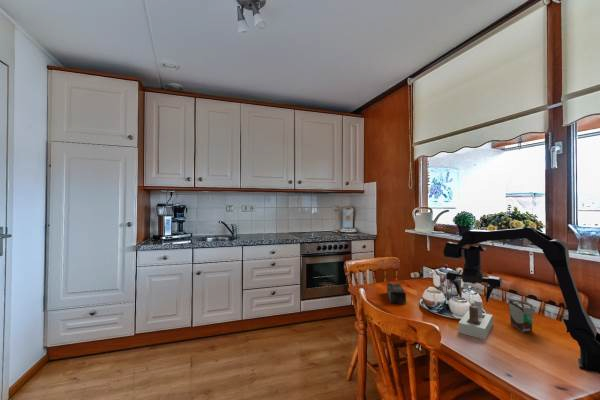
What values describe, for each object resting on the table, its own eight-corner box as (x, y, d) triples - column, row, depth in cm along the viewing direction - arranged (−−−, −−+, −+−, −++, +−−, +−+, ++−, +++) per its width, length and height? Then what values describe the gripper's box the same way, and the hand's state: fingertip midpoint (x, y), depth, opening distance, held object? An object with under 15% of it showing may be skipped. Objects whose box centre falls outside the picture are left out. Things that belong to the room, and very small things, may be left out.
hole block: (485, 339, 107) (485, 328, 107) (458, 332, 113) (458, 322, 113) (492, 324, 120) (492, 315, 120) (468, 318, 126) (468, 310, 126)
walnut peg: (479, 332, 113) (478, 307, 113) (477, 334, 111) (477, 309, 111) (470, 329, 115) (470, 305, 115) (469, 332, 113) (468, 307, 113)
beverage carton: (401, 293, 164) (400, 282, 164) (406, 305, 145) (406, 292, 145) (386, 293, 165) (386, 281, 165) (390, 304, 147) (390, 291, 147)
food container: (543, 335, 109) (542, 309, 109) (525, 334, 110) (524, 308, 111) (524, 322, 121) (524, 299, 122) (508, 321, 123) (508, 298, 123)
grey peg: (482, 327, 118) (481, 303, 118) (473, 325, 120) (473, 301, 120) (483, 324, 120) (482, 301, 120) (475, 322, 122) (474, 299, 122)
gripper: (441, 261, 114) (442, 299, 114) (497, 267, 101) (498, 311, 101) (449, 257, 122) (450, 293, 122) (501, 262, 110) (502, 303, 109)
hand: (473, 299), depth 113 cm, fingers open, 9 cm apart
